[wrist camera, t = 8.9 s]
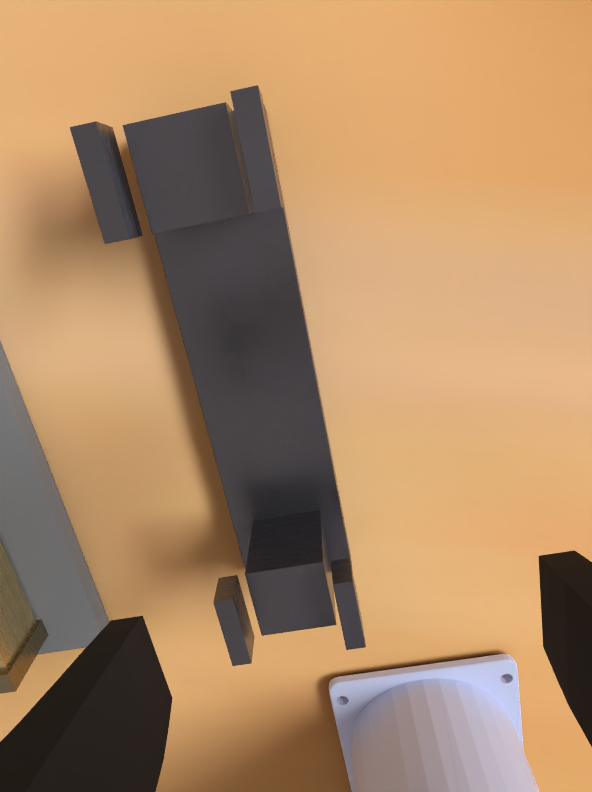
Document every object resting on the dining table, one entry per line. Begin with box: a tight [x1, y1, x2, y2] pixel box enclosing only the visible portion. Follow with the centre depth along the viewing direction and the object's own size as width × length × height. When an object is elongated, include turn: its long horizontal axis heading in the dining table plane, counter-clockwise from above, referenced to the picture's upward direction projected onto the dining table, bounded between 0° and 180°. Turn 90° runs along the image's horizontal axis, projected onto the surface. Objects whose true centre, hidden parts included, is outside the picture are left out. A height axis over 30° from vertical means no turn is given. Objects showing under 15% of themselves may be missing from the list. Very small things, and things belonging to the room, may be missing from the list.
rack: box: [70, 85, 366, 666], centre depth 17 cm, size 16×4×5 cm, turn 11°
